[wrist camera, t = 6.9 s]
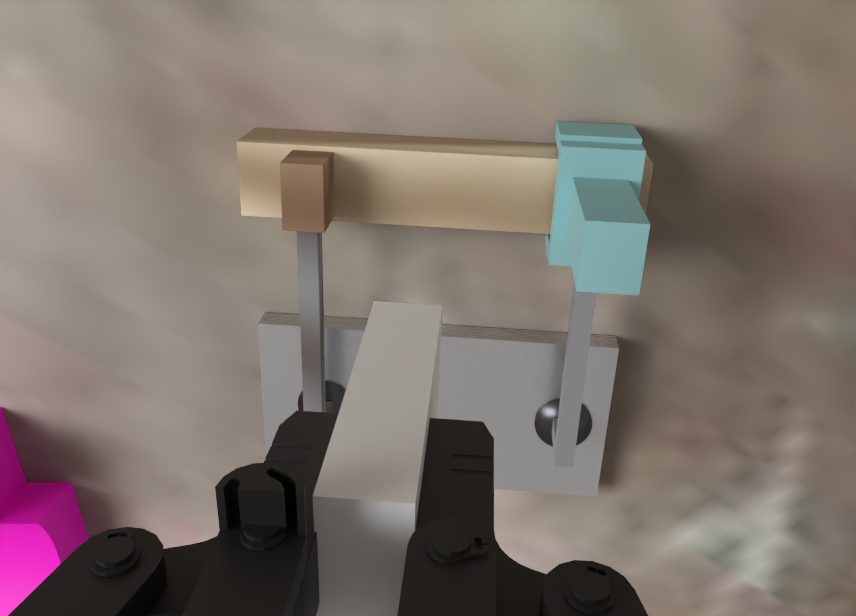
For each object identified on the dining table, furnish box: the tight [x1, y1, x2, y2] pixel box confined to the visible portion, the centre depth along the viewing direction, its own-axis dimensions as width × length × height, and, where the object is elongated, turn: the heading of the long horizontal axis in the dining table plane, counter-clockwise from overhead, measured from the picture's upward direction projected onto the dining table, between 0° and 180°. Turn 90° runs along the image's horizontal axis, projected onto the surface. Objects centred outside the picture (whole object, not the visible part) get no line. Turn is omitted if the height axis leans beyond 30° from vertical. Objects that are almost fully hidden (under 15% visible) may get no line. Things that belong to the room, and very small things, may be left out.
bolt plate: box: [258, 312, 619, 497], centre depth 38 cm, size 8×16×1 cm, turn 88°
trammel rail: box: [237, 128, 654, 413], centre depth 34 cm, size 13×16×4 cm
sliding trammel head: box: [545, 121, 650, 467], centre depth 31 cm, size 14×3×8 cm, turn 178°
